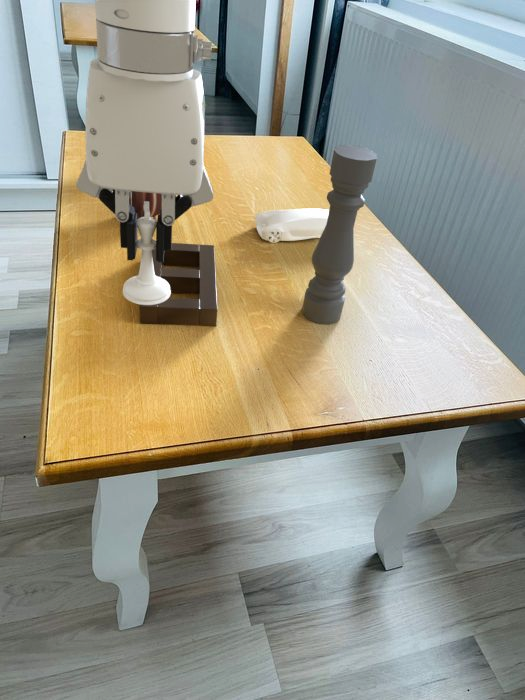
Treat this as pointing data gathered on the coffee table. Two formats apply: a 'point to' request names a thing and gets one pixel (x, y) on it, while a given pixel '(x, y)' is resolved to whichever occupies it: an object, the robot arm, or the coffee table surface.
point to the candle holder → (338, 233)
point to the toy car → (291, 224)
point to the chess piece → (146, 268)
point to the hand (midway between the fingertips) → (146, 253)
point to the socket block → (185, 287)
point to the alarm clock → (154, 203)
